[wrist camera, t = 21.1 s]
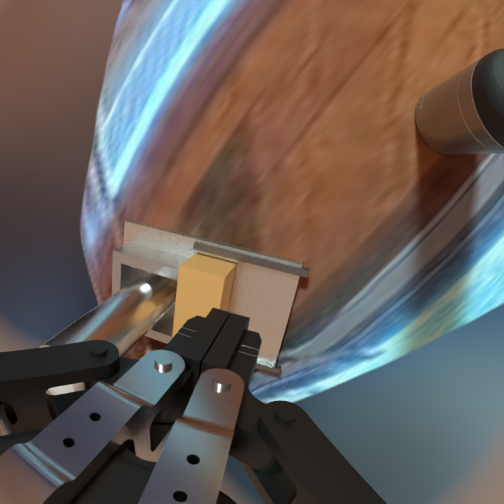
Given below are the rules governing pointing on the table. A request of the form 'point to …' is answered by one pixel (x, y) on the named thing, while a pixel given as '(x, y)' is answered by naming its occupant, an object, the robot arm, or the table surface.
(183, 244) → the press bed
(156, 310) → the air filter
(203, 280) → the block
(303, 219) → the table surface
